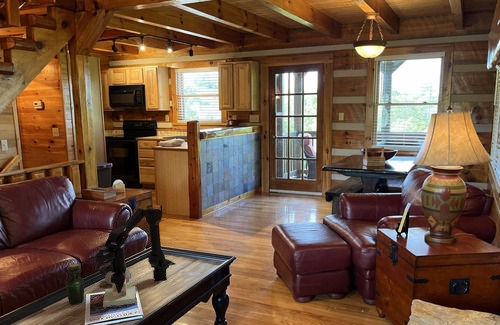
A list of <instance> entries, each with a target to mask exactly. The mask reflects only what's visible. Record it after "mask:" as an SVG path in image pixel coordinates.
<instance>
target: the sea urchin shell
mask: <svg viewBox="0 0 500 325" xmlns="http://www.w3.org/2000/svg"><path fill="white" fill-rule="evenodd" d="M112 274H113V273H111V272H109V273H106V274H105V275H104V280H105V282H106V283H107V284H109V285H112V284H113V283H112V282H111V275H112ZM131 278H132V273H131V271H130V270H129V269H128V268H127V267H126V272H125V279H126V283H128V281H130V279H131Z"/></svg>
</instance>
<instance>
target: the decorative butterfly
mask: <svg viewBox="0 0 500 325" xmlns="http://www.w3.org/2000/svg"><path fill="white" fill-rule="evenodd" d="M166 257H169V255H168V256H166ZM165 260H166V261H167V262H168V263H169V264H171V263H174V264H173V265H176V262H174V261H172V260H170V259H168V258H165Z"/></svg>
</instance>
